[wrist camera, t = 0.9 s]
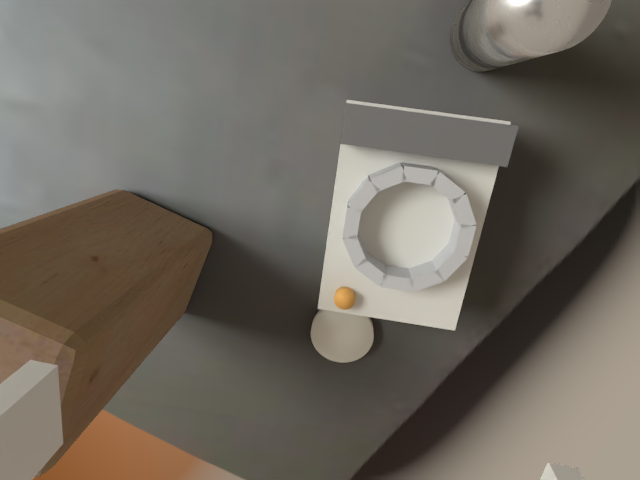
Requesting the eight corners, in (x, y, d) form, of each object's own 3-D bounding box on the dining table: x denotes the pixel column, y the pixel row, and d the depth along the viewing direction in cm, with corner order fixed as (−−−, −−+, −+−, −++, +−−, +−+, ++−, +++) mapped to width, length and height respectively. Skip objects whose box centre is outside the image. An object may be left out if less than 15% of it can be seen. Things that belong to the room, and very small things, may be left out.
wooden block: (219, 229, 38) (80, 351, 19) (186, 314, 41) (38, 492, 22) (119, 183, 38) (-126, 261, 19) (93, 273, 41) (-138, 418, 22)
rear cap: (316, 295, 40) (314, 302, 38) (377, 305, 39) (378, 312, 38) (308, 348, 41) (307, 357, 40) (367, 358, 41) (368, 367, 40)
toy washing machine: (349, 100, 33) (345, 99, 26) (484, 119, 33) (521, 123, 25) (323, 278, 39) (314, 320, 31) (440, 297, 38) (460, 344, 30)
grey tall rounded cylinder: (458, -9, 30) (517, -77, 19) (530, 0, 30) (632, -65, 19) (442, 67, 32) (488, 46, 21) (510, 76, 32) (593, 59, 20)
